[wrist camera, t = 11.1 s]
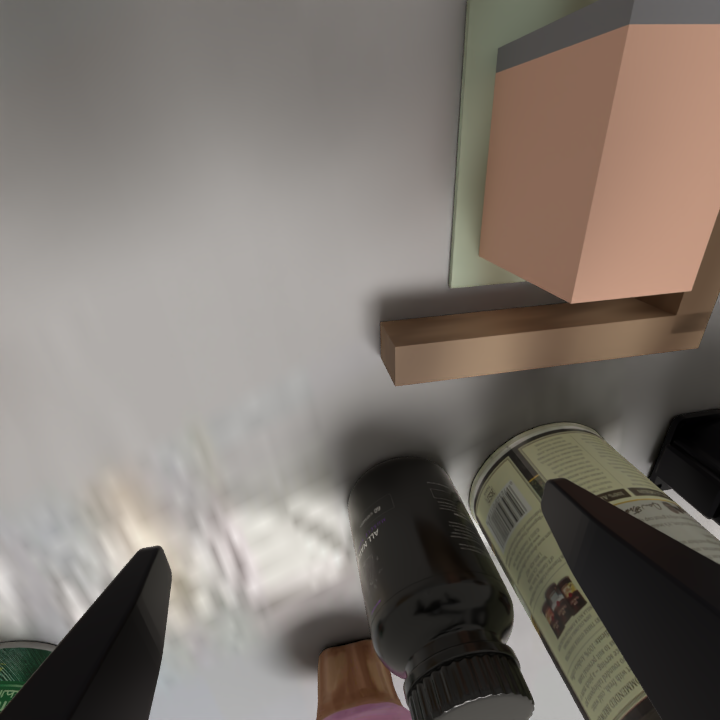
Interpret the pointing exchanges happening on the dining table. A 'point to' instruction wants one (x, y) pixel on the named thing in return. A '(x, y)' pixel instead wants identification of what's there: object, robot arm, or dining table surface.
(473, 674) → the supplement bottle
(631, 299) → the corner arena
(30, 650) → the canned tomato
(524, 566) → the coffee can
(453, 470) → the dining table surface
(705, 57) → the terracotta block
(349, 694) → the cupcake
